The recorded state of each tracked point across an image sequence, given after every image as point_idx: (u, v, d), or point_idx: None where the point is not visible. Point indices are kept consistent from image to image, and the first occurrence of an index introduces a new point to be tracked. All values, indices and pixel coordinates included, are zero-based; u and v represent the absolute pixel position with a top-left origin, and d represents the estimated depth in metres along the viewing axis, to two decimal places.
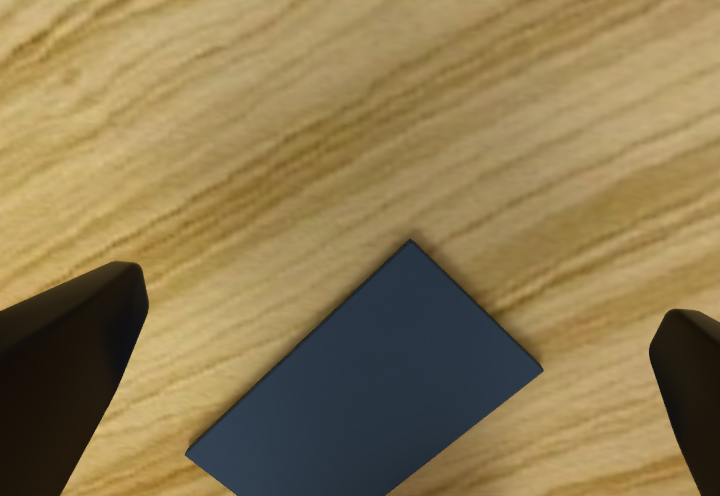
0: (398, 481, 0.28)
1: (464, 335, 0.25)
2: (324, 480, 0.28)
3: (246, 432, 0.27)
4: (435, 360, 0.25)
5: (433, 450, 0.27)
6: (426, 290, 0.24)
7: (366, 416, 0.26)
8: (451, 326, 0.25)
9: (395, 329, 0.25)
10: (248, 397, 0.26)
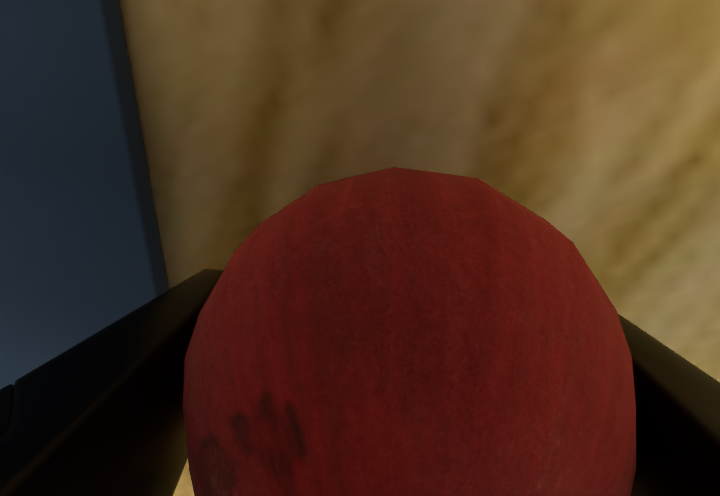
0: (120, 164, 0.09)
1: None
2: (11, 284, 0.10)
3: None
4: None
5: None
6: None
7: None
8: None
9: None
10: None
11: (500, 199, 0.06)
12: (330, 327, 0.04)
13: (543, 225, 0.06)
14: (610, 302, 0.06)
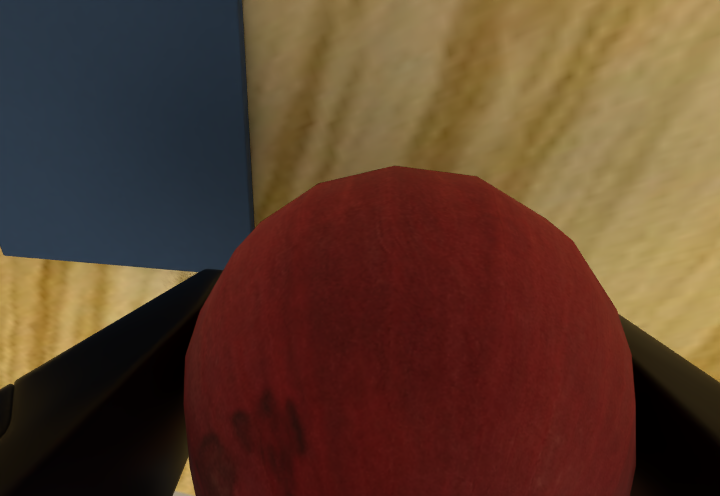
0: (234, 79, 0.15)
1: None
2: (156, 162, 0.17)
3: (11, 169, 0.17)
4: None
5: None
6: None
7: (84, 4, 0.14)
8: None
9: None
10: None
11: (500, 197, 0.06)
12: (332, 325, 0.04)
13: (543, 223, 0.06)
14: (610, 300, 0.06)
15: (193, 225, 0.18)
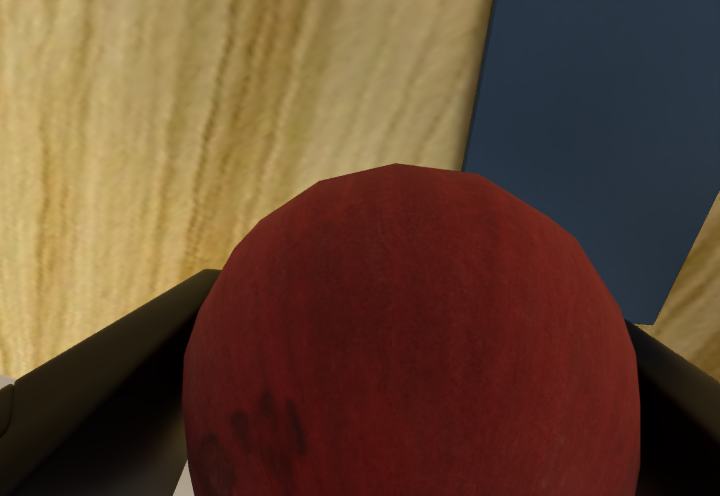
0: None
1: None
2: (618, 235, 0.20)
3: None
4: None
5: None
6: None
7: (625, 118, 0.18)
8: None
9: None
10: None
11: (503, 195, 0.05)
12: (332, 324, 0.04)
13: (546, 221, 0.06)
14: (614, 299, 0.06)
15: (623, 284, 0.21)
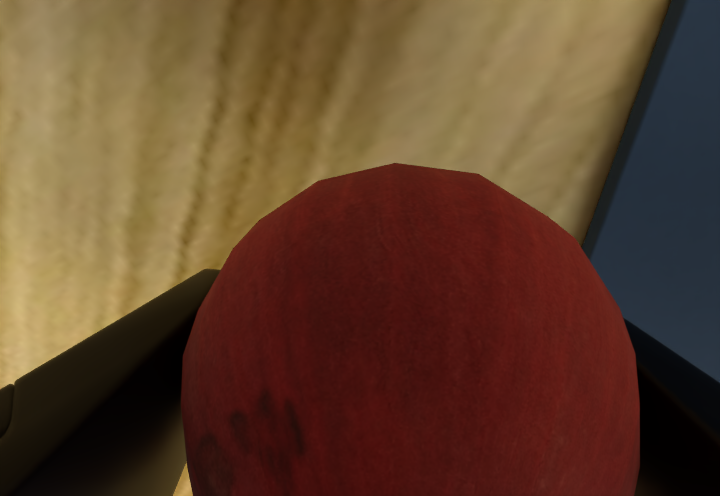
0: None
1: None
2: None
3: None
4: None
5: None
6: None
7: None
8: None
9: None
10: None
11: (502, 195, 0.05)
12: (331, 323, 0.04)
13: (545, 221, 0.06)
14: (613, 299, 0.06)
15: None
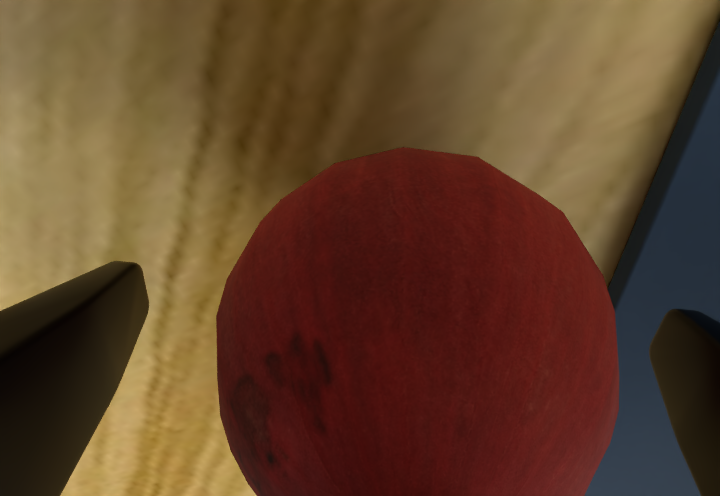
0: None
1: None
2: None
3: (621, 428, 0.13)
4: None
5: None
6: None
7: None
8: None
9: None
10: None
11: (498, 173, 0.06)
12: (353, 277, 0.05)
13: (536, 196, 0.06)
14: (597, 267, 0.07)
15: None
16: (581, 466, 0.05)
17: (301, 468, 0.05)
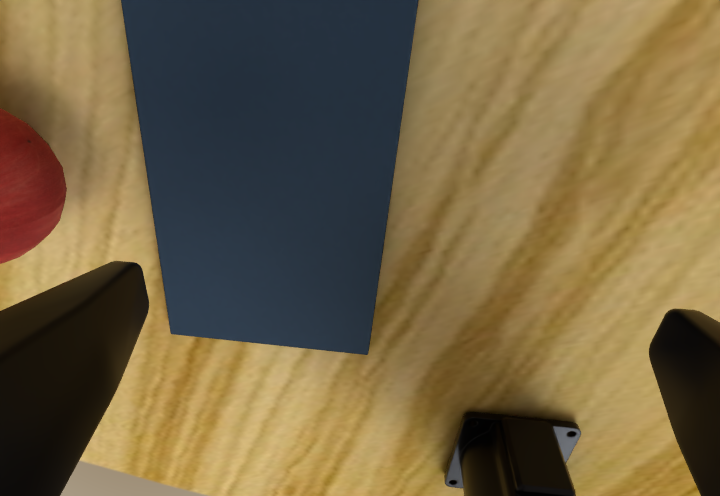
0: (381, 225, 0.20)
1: None
2: (309, 275, 0.22)
3: (193, 276, 0.22)
4: (283, 39, 0.17)
5: (385, 159, 0.19)
6: None
7: (279, 174, 0.19)
8: None
9: (205, 38, 0.17)
10: (158, 239, 0.21)
11: None
12: None
13: None
14: (23, 148, 0.16)
15: (328, 318, 0.23)
16: None
17: None
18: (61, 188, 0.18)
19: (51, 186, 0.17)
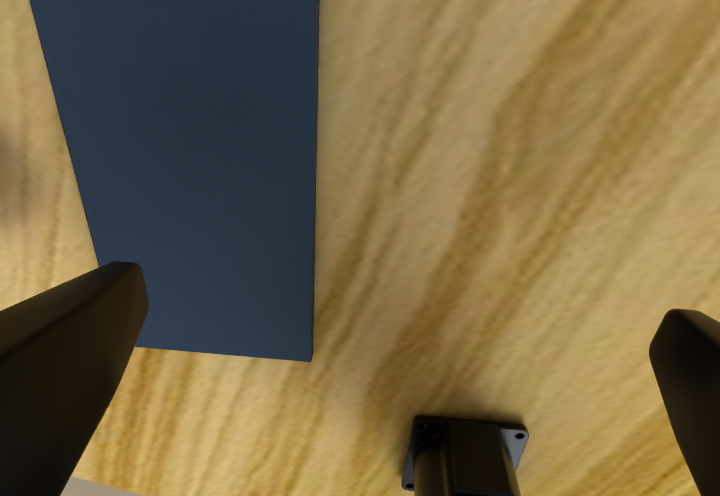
0: (308, 235, 0.21)
1: None
2: (245, 286, 0.23)
3: None
4: (193, 62, 0.17)
5: (304, 173, 0.19)
6: None
7: (205, 189, 0.20)
8: (163, 1, 0.16)
9: (119, 62, 0.18)
10: (97, 254, 0.22)
11: None
12: None
13: None
14: None
15: (268, 327, 0.24)
16: None
17: None
18: None
19: None
